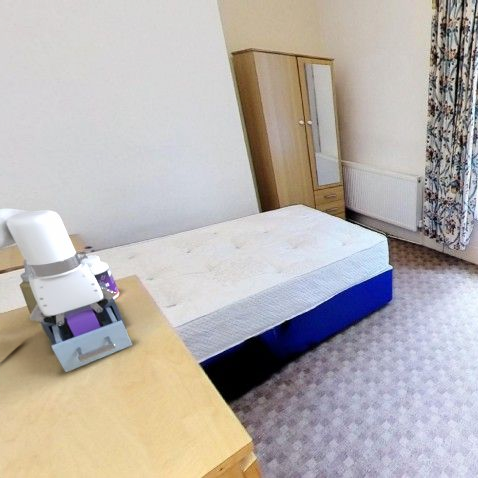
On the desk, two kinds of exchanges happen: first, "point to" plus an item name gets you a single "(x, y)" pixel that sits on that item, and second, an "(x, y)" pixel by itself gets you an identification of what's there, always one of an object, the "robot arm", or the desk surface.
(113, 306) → the dark grey drawer cabinet
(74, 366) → the pull-out drawer
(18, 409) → the desk surface
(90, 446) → the desk surface
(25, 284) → the squeeze bottle
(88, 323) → the block
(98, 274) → the pill bottle
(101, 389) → the desk surface
